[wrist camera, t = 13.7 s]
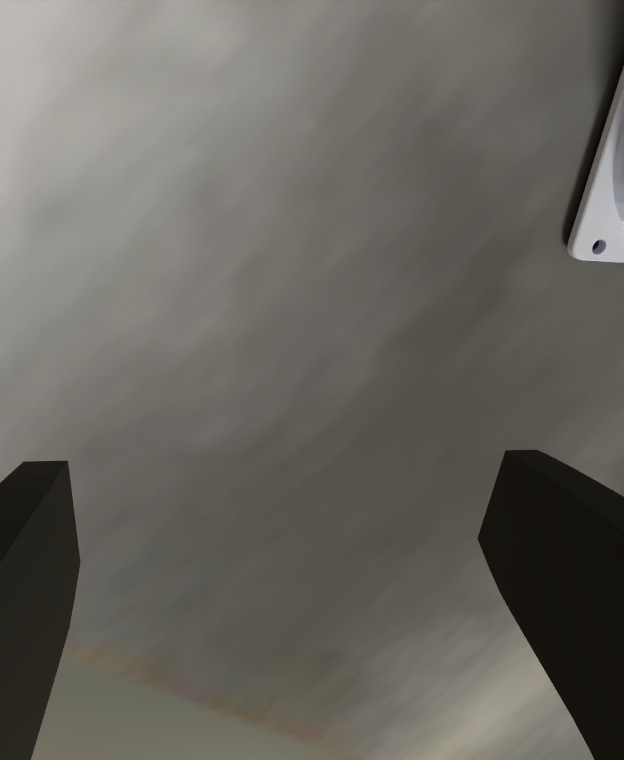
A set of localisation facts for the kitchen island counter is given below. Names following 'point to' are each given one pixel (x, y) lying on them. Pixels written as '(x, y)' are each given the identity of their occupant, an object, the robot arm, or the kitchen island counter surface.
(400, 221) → the kitchen island counter surface
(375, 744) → the kitchen island counter surface
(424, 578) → the kitchen island counter surface
